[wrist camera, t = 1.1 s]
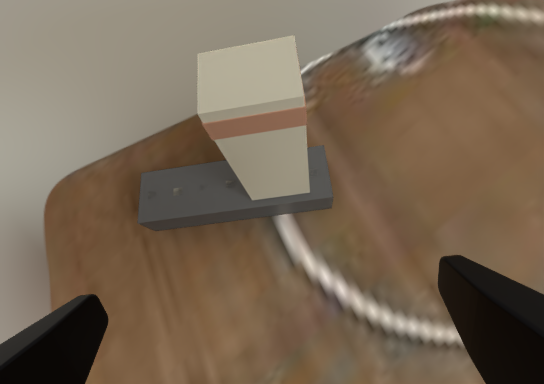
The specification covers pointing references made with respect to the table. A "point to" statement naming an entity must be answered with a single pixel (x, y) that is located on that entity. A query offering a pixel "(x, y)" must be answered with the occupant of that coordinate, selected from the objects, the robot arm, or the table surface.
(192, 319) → the table surface
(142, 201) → the gray rectangular bar
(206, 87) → the cream tall block
